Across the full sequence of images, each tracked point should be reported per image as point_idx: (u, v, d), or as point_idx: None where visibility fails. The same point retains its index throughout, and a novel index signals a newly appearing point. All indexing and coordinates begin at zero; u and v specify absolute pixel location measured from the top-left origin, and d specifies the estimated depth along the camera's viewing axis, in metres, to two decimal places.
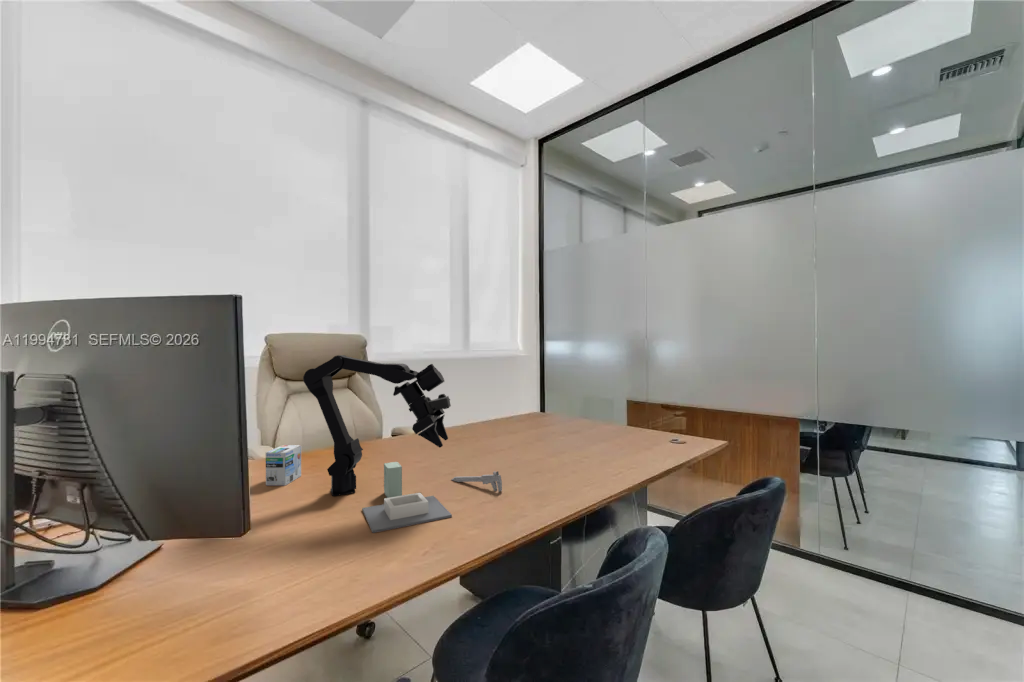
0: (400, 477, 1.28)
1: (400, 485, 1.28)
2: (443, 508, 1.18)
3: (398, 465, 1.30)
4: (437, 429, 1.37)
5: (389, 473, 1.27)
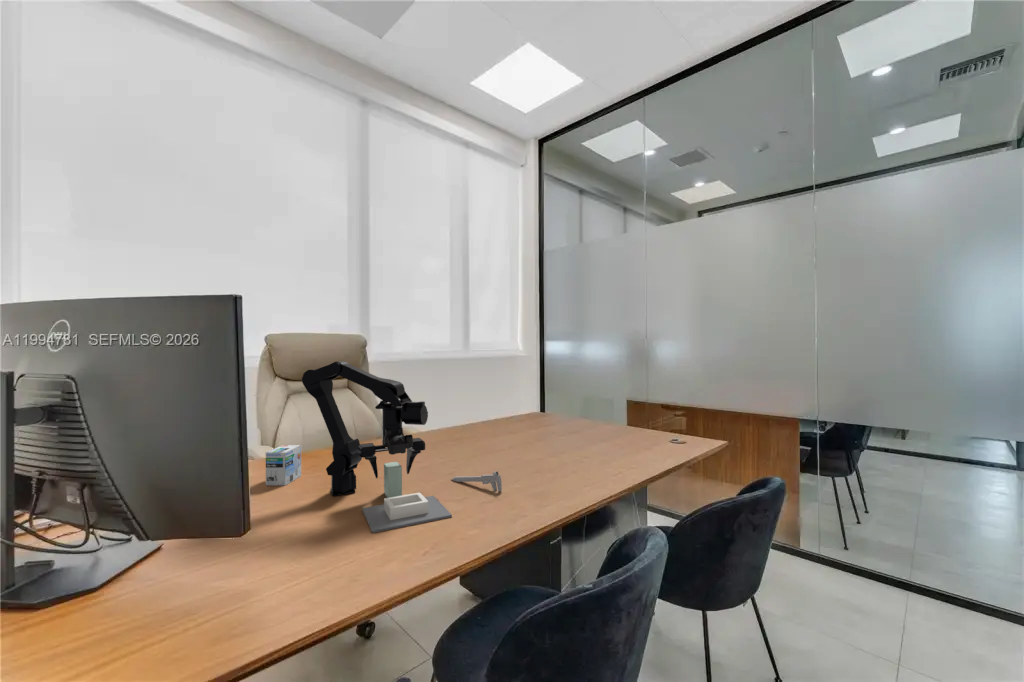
0: (400, 477, 1.28)
1: (400, 485, 1.28)
2: (443, 508, 1.18)
3: (398, 465, 1.30)
4: (407, 458, 1.33)
5: (389, 473, 1.27)
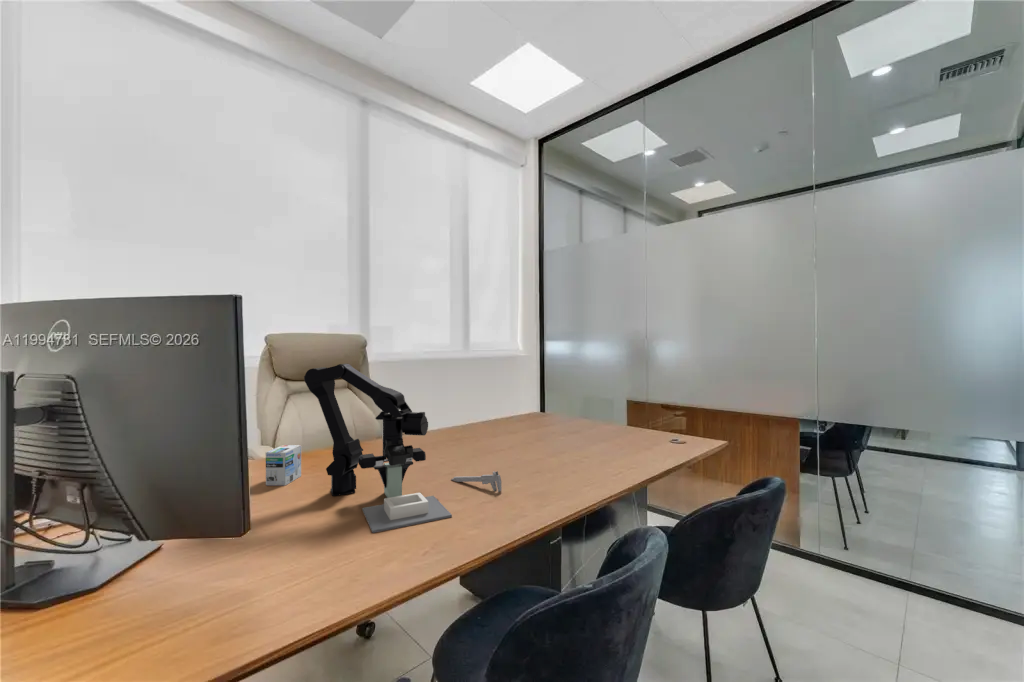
0: (400, 477, 1.28)
1: (400, 485, 1.28)
2: (443, 508, 1.18)
3: (398, 465, 1.30)
4: None
5: (389, 473, 1.27)
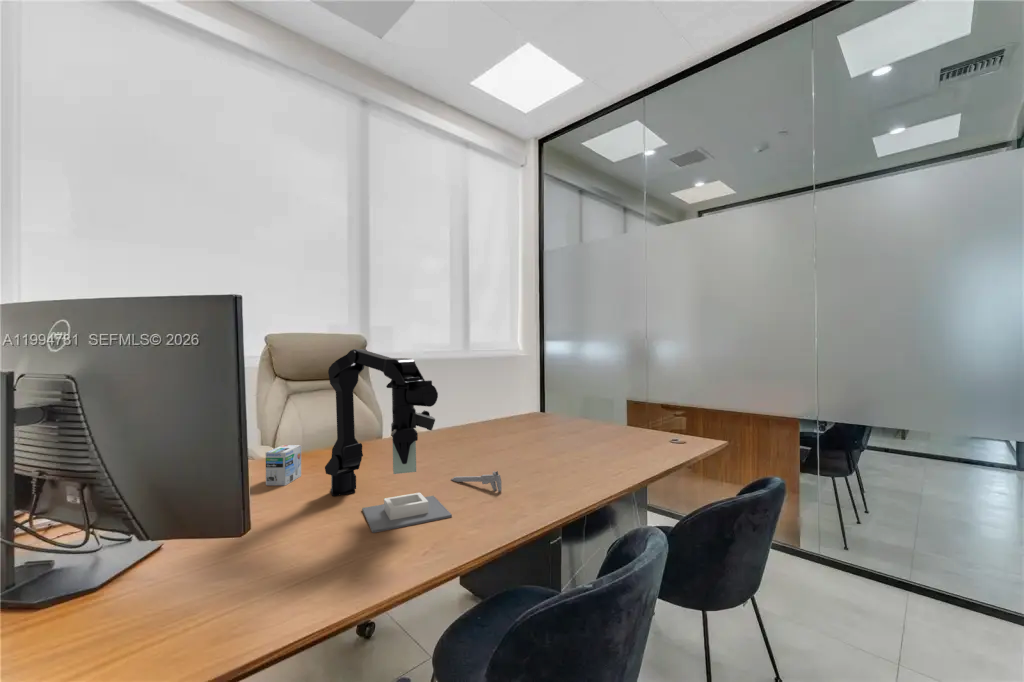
0: None
1: None
2: (443, 508, 1.18)
3: None
4: None
5: (415, 443, 1.18)
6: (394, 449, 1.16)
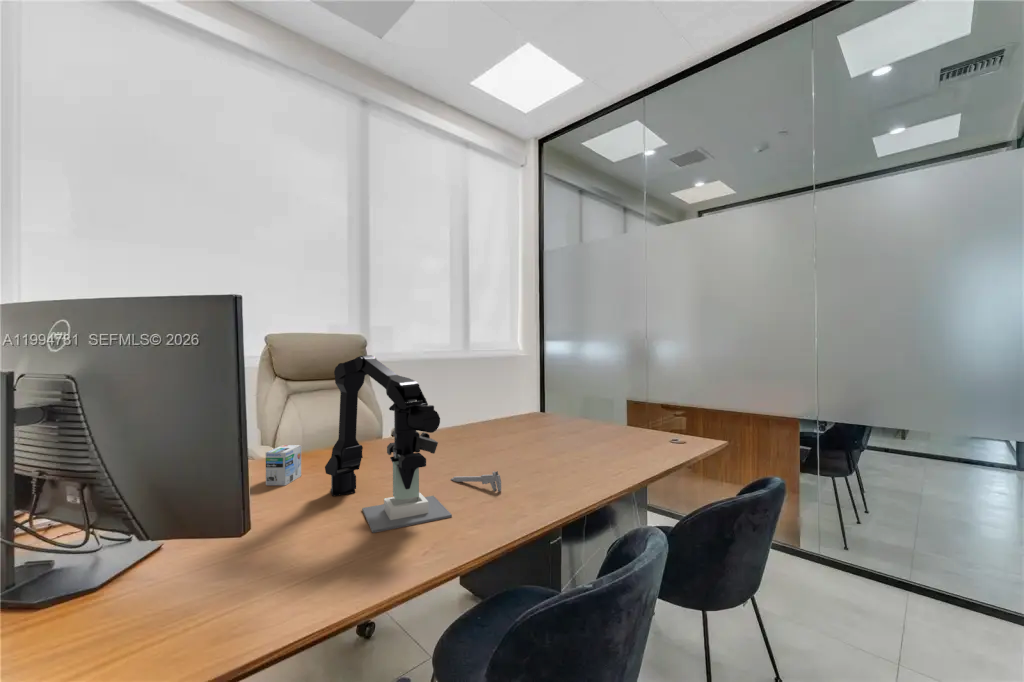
0: None
1: None
2: (443, 508, 1.18)
3: None
4: None
5: None
6: (397, 474, 1.13)
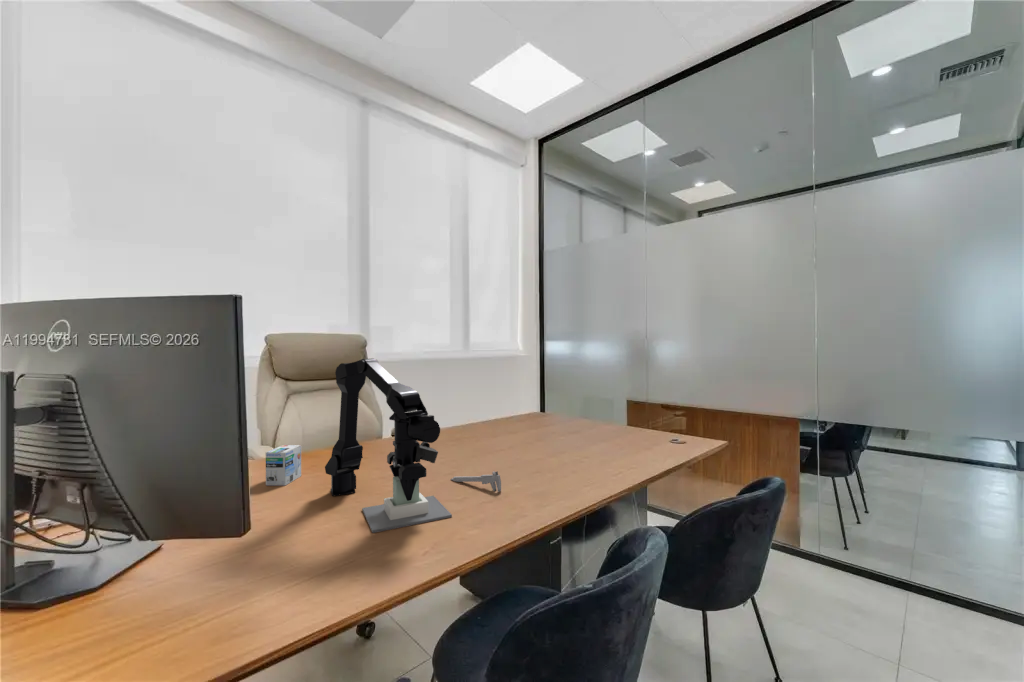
0: None
1: None
2: (443, 508, 1.18)
3: None
4: None
5: (418, 483, 1.16)
6: (397, 490, 1.13)
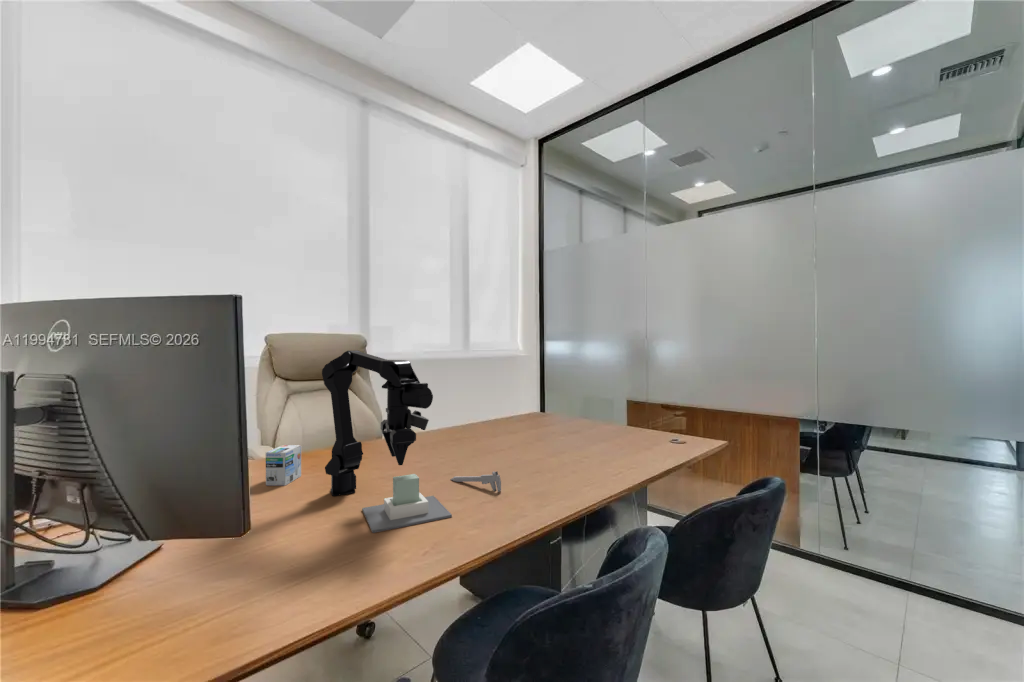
0: None
1: None
2: (443, 508, 1.18)
3: (409, 475, 1.18)
4: (390, 441, 1.26)
5: (418, 483, 1.16)
6: (397, 490, 1.13)
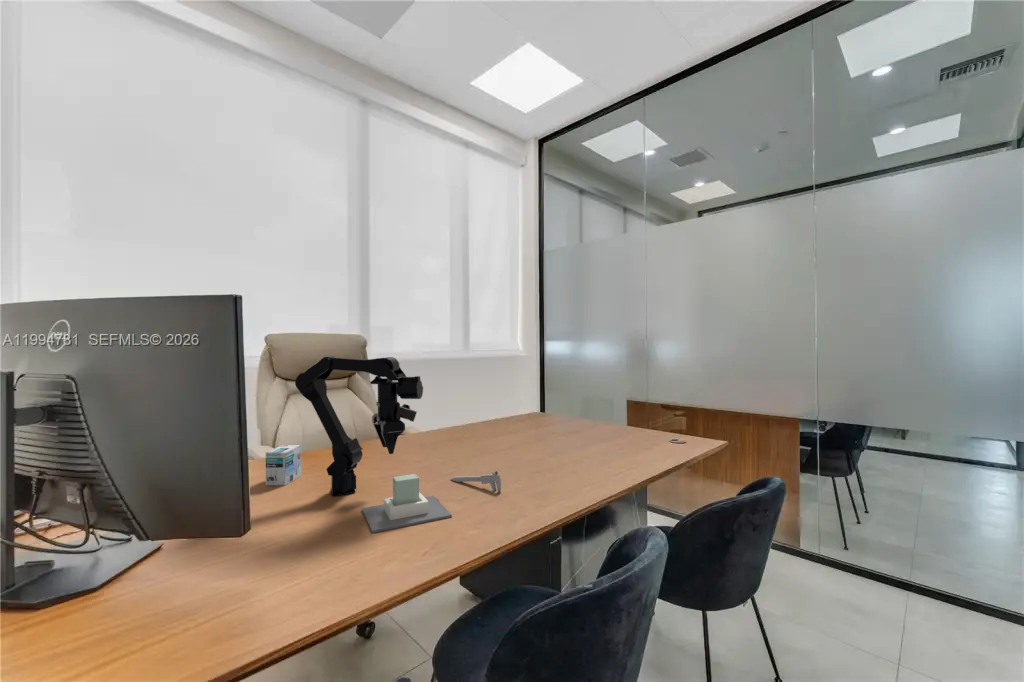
0: None
1: None
2: (443, 508, 1.18)
3: (409, 475, 1.18)
4: (382, 433, 1.35)
5: (418, 483, 1.16)
6: (397, 490, 1.13)
